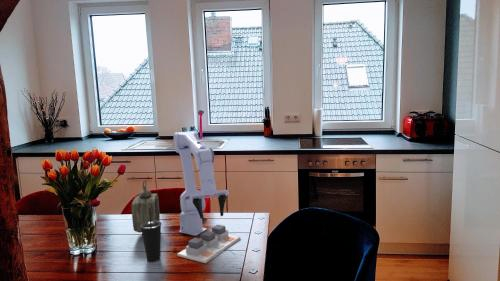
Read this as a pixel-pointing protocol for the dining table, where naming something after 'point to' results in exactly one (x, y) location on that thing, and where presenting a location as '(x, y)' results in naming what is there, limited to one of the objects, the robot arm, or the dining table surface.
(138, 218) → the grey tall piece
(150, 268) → the dining table surface
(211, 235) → the button middle
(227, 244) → the button board
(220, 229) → the button far
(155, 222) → the drinking cup
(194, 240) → the button near
